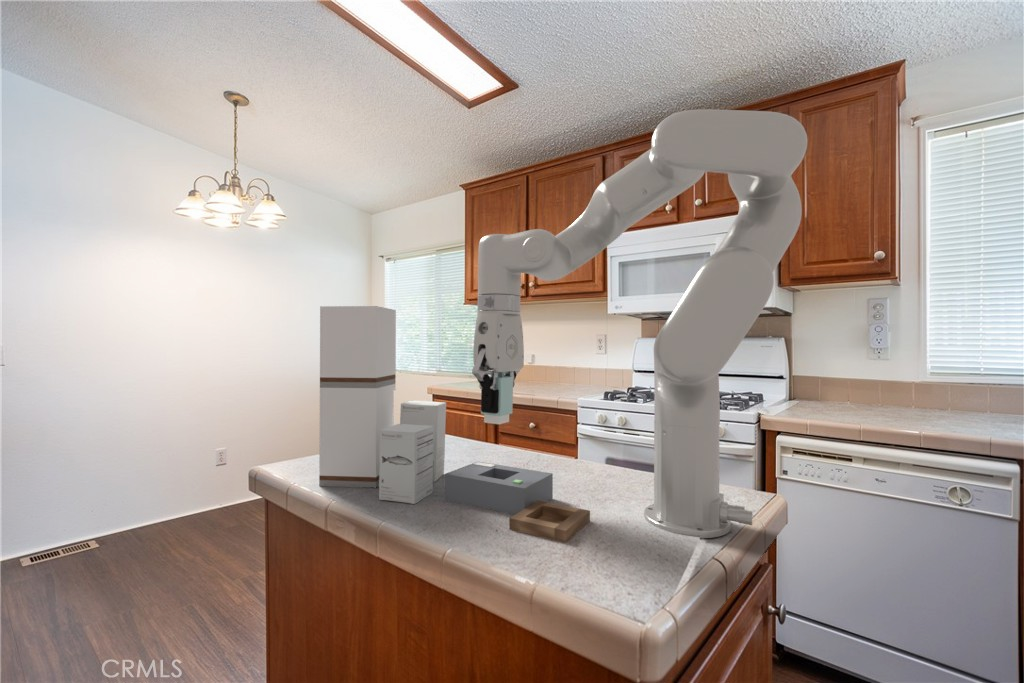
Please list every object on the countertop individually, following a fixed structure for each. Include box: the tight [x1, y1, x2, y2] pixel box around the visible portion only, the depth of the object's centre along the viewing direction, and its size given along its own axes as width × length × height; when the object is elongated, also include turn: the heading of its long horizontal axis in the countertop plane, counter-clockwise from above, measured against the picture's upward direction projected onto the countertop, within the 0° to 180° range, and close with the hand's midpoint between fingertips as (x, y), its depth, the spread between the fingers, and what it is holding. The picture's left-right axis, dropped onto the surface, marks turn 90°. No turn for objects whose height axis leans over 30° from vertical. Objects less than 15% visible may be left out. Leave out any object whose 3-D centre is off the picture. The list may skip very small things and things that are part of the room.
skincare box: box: [399, 400, 447, 483], centre depth 98 cm, size 8×7×16 cm
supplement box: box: [378, 423, 434, 505], centre depth 85 cm, size 7×7×13 cm
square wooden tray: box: [508, 501, 591, 544], centre depth 70 cm, size 9×9×2 cm
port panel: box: [444, 461, 554, 516], centre depth 82 cm, size 16×10×5 cm, turn 59°
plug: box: [480, 372, 514, 425], centre depth 82 cm, size 4×4×9 cm
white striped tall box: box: [318, 305, 397, 489], centre depth 96 cm, size 11×11×35 cm
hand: (497, 409), depth 82 cm, fingers closed on plug, 4 cm apart
